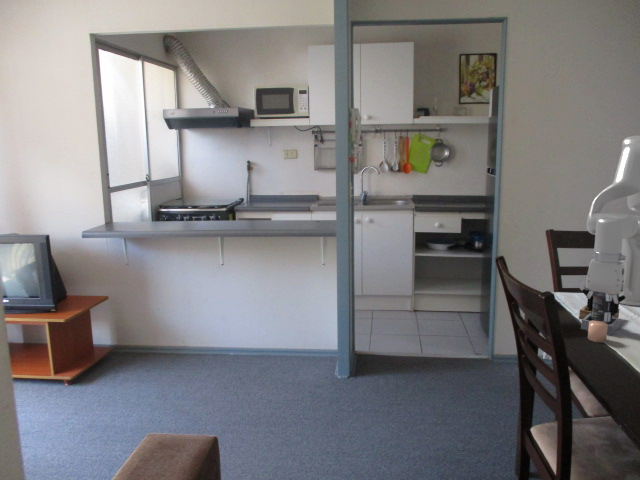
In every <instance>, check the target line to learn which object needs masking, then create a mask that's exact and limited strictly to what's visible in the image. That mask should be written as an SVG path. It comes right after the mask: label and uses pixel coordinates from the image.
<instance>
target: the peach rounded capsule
mask: <svg viewBox="0 0 640 480" xmlns="http://www.w3.org/2000/svg"><path fill="white" fill-rule="evenodd" d="M607 328H608V324H607V323H605V322H601V321H590V322H589V329H588V330H587V339H588V340H589V341H591V342H594V343H606V342H607V337H608V335H607Z"/></svg>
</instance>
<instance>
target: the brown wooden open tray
mask: <svg viewBox="0 0 640 480" xmlns="http://www.w3.org/2000/svg"><path fill="white" fill-rule="evenodd" d="M588 309H589V307H587V304H586V305H585V306H583V307H582V308H581V309H579V313H578V314H579V316H578V319H579V320H580V319H583V318H585V317H586V316H587V315H588V314H590V313H592V311H588ZM619 316H620V308H619V309H618V313H616V314H615V315H614V316H612V317H613V318H618V319H620V317H619Z"/></svg>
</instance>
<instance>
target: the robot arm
mask: <svg viewBox="0 0 640 480" xmlns="http://www.w3.org/2000/svg"><path fill="white" fill-rule="evenodd" d="M621 143H622V144H621V153H620V155H619V159H618V164H617V165H616V166H617V167H616V170H615V174H614V178H613V180H612V183H611V184H610V185H608V186H607V187H605V188H604V189H603V190H601V191H600V192H599V193H598V194H597V195H596V196H595V197H594V199H593V201H592V203H591V205H590V208H589V212H588V214H587V217H586V218H587V219H586V224H585V225H586V226H585V227H586V230H587V231H588V233H590V235H595V236H594V248H593V258H591V260H590V263H589V266H588V270H587V273H586V278H585V279H584V280H582V281H581V282H580V283H578V284H577V287H578V288H579V289H580V291H581V292H582V293H583V295H584V296H585V298H586V299H587V302H586V303H587V304H586V305H587V307H589V309H588V311H592V302H593V293H594V292H603V293H607V294H612V297H613V300H614V302H613V303H612V310H611V315H612V316H614V315H615V314H616V313H618V309H619V310H620V308H619V307H620V306H619V305H621V304H622V305H627V306H636V307H637V306H638V307H640V215H631V214H625V213H614V212H605V211H602V210H603V209H604V208H605V207H606V206H607V205H609V204H611V203H612V202H614V201H617V200H620V199H624V198H626V199H627V200H626V201H627V205H626V206H627V207H628V209H629V210H630V211H633V212H638V213H640V135H632V136H628V137H625V138H624V139H623V140H622V142H621Z"/></svg>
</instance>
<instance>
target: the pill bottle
mask: <svg viewBox="0 0 640 480" xmlns="http://www.w3.org/2000/svg"><path fill="white" fill-rule="evenodd" d="M613 302H614V300H613V297H612V294H607V293H603V292H594V293H593V302H592V313H591V318H592V319H593V320H595V321H601V322H610V321H612V315H611V310H612V303H613Z"/></svg>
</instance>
